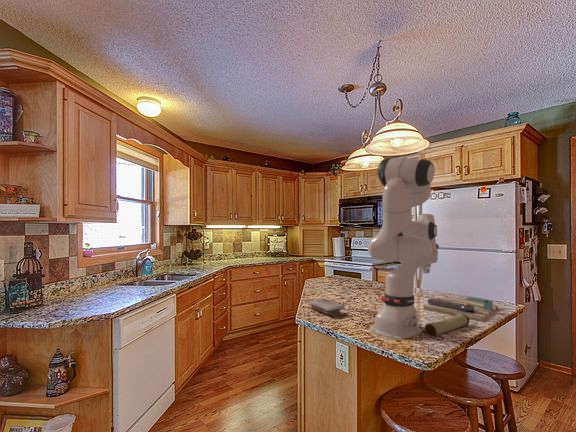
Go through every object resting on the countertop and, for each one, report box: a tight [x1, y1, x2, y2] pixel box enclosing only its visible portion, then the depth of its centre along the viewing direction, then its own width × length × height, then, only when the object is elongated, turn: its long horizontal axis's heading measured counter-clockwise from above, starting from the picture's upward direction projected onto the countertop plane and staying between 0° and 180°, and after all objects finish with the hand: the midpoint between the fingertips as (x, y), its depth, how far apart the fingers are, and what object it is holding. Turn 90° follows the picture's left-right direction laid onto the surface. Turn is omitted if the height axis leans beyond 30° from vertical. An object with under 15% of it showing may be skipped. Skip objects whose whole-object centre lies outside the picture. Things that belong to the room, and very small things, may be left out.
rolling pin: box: [422, 314, 470, 337], centre depth 127 cm, size 32×6×5 cm, turn 121°
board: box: [423, 296, 499, 322], centre depth 157 cm, size 29×26×2 cm
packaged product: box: [307, 297, 345, 316], centre depth 152 cm, size 18×5×10 cm
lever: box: [427, 298, 474, 312], centre depth 154 cm, size 21×6×3 cm, turn 44°
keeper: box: [466, 296, 493, 311], centre depth 153 cm, size 3×10×4 cm, turn 44°
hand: (426, 273), depth 154 cm, fingers closed
